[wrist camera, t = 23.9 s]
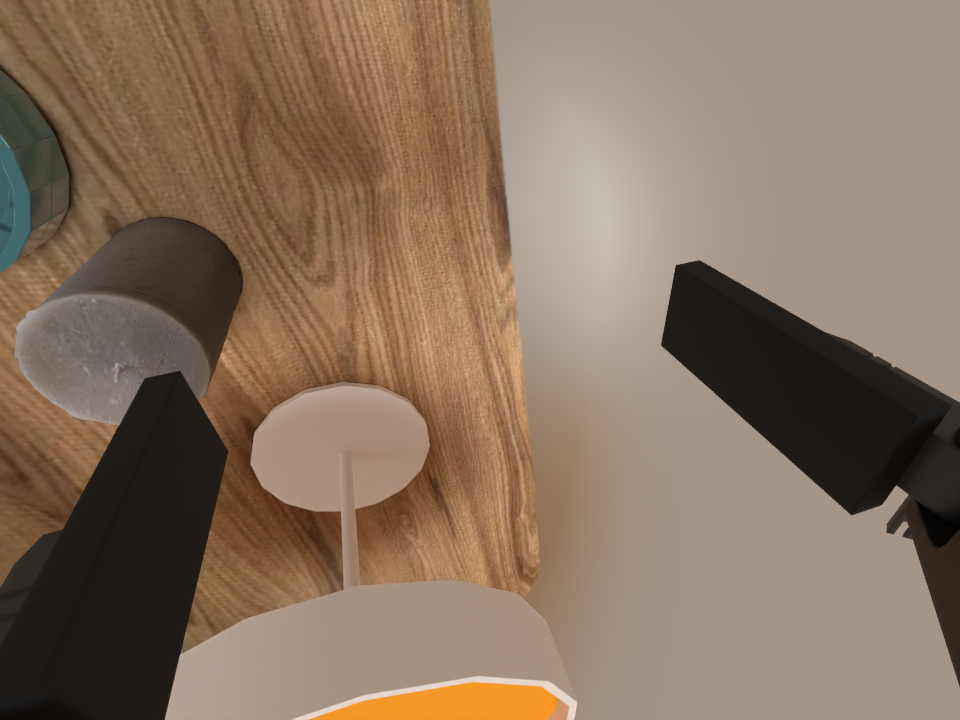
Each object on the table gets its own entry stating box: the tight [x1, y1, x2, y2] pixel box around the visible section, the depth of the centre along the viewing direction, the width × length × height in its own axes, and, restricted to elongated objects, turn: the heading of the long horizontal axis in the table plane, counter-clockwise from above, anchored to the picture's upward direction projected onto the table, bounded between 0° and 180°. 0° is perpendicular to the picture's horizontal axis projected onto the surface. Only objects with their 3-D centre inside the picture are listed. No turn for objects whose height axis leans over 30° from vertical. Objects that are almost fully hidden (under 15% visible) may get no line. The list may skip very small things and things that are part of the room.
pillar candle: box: [14, 217, 243, 425], centre depth 32 cm, size 10×10×15 cm
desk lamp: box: [165, 382, 577, 720], centre depth 41 cm, size 30×30×31 cm
